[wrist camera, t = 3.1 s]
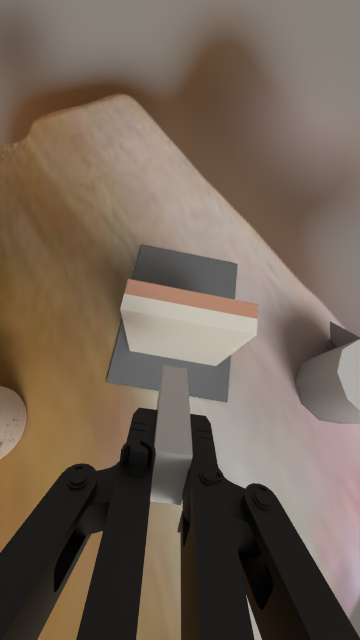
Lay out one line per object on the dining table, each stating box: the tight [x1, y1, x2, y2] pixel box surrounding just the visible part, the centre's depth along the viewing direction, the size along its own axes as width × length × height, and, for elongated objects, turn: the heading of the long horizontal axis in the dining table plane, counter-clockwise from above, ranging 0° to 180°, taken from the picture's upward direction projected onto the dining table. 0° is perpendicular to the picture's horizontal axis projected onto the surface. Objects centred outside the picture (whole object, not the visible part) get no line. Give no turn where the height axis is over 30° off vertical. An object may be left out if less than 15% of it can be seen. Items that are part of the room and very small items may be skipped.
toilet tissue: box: [295, 322, 360, 424], centre depth 33 cm, size 9×13×9 cm
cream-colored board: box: [120, 279, 258, 366], centre depth 29 cm, size 3×12×14 cm, turn 81°
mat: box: [106, 245, 237, 402], centre depth 37 cm, size 22×16×1 cm
